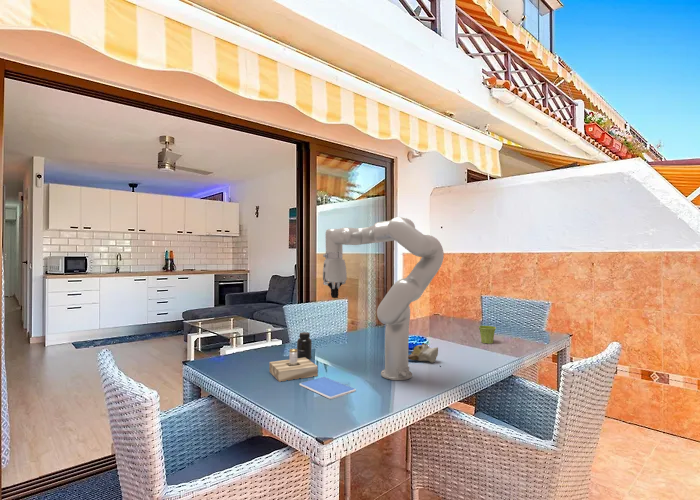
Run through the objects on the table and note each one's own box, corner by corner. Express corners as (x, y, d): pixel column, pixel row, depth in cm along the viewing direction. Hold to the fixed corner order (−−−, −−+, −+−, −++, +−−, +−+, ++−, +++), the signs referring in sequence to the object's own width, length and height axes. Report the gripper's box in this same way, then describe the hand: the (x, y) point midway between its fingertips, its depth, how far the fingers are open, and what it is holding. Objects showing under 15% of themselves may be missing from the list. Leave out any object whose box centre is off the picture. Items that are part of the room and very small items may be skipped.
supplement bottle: (297, 361, 177) (298, 335, 177) (295, 357, 184) (296, 331, 184) (312, 360, 179) (312, 334, 179) (310, 356, 186) (310, 331, 186)
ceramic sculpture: (434, 346, 171) (402, 344, 179) (435, 366, 171) (403, 362, 178) (441, 341, 180) (411, 339, 188) (442, 360, 180) (411, 357, 188)
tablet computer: (298, 386, 146) (298, 382, 146) (324, 379, 155) (324, 375, 155) (330, 401, 132) (330, 397, 132) (357, 392, 140) (357, 388, 140)
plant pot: (474, 341, 219) (474, 326, 219) (488, 340, 222) (488, 325, 222) (485, 345, 210) (485, 329, 210) (499, 344, 213) (499, 328, 213)
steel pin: (298, 374, 159) (298, 350, 159) (290, 375, 157) (290, 350, 157) (295, 372, 161) (295, 348, 161) (288, 373, 160) (288, 349, 160)
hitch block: (317, 375, 157) (317, 366, 157) (279, 381, 149) (279, 371, 149) (305, 366, 169) (305, 357, 169) (269, 371, 162) (269, 362, 162)
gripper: (322, 256, 165) (323, 299, 165) (352, 256, 172) (353, 297, 172) (315, 256, 171) (315, 298, 171) (344, 256, 179) (345, 295, 179)
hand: (334, 297), depth 172 cm, fingers closed
